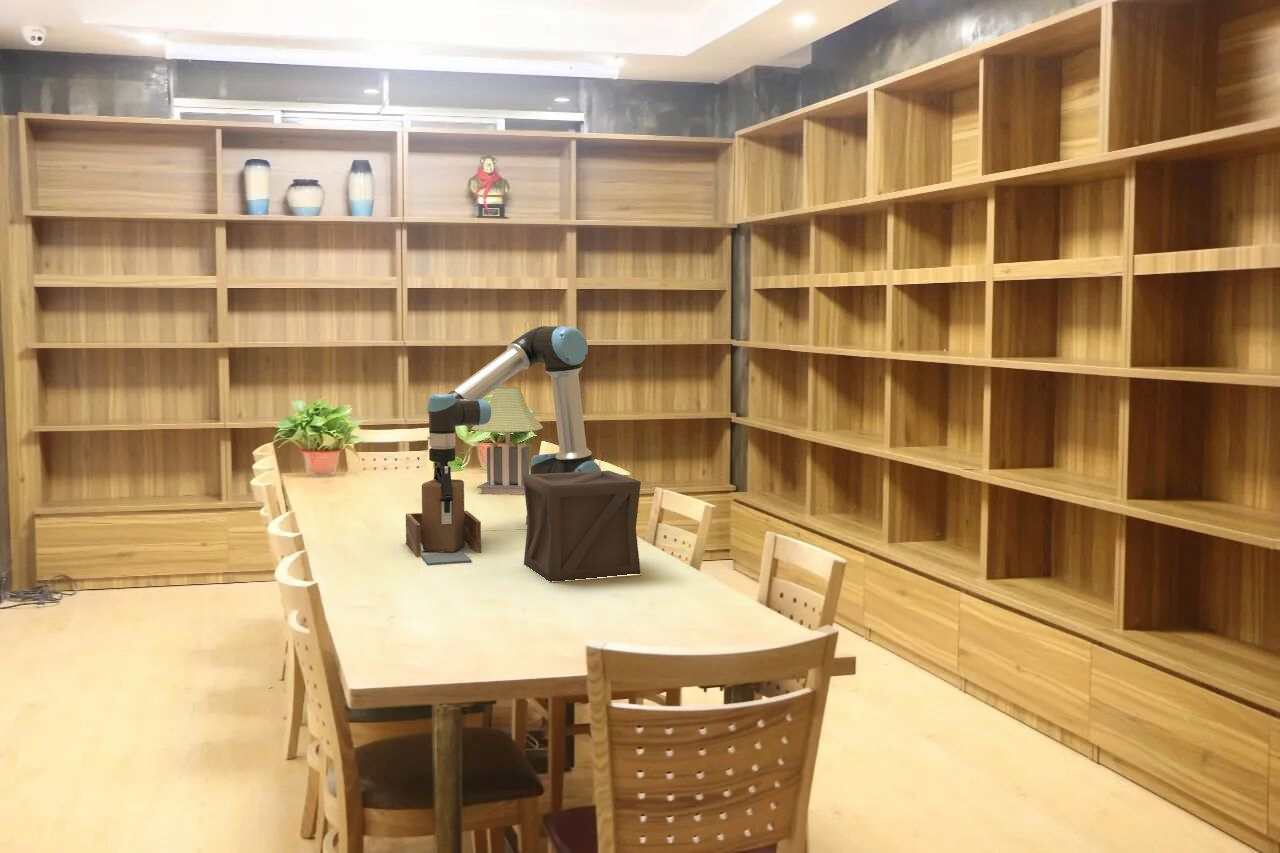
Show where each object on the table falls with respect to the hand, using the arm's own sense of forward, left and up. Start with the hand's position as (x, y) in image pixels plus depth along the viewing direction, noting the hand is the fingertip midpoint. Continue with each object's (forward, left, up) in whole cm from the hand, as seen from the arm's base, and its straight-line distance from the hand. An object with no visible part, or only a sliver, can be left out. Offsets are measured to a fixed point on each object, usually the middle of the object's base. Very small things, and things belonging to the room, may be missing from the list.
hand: (442, 520), depth 364 cm
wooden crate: (-30, +41, -9) cm, 52 cm away
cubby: (0, -2, -8) cm, 9 cm away
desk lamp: (-43, -109, -9) cm, 118 cm away
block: (0, 0, -9) cm, 9 cm away
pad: (+2, +16, -9) cm, 18 cm away
